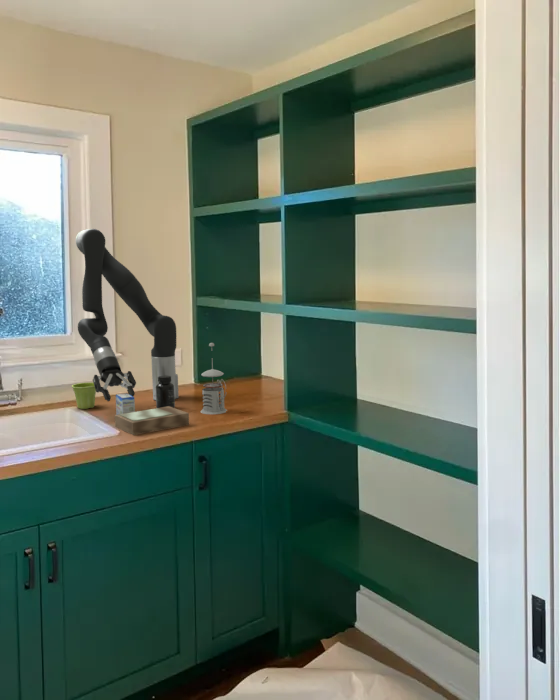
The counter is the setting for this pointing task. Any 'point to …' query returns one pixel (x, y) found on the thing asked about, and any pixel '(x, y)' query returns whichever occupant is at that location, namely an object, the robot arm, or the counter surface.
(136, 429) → the stand
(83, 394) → the plant pot
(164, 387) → the supplement bottle
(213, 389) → the french press
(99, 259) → the robot arm
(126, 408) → the medicine box
